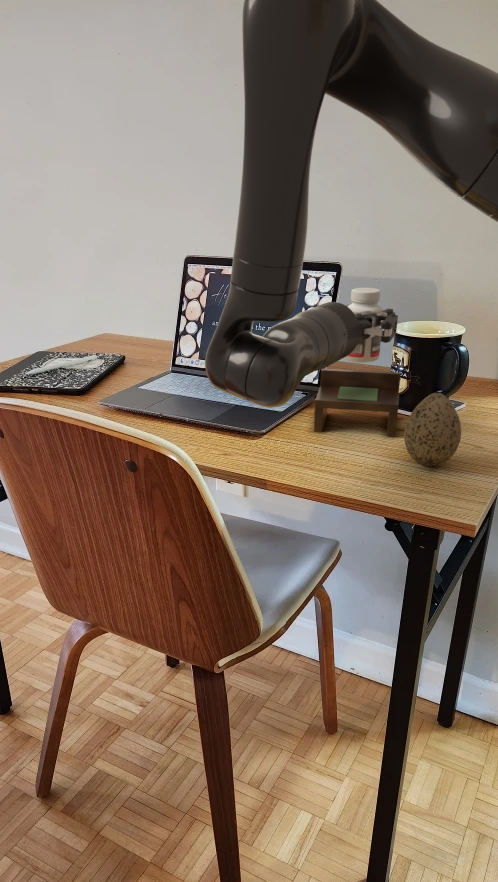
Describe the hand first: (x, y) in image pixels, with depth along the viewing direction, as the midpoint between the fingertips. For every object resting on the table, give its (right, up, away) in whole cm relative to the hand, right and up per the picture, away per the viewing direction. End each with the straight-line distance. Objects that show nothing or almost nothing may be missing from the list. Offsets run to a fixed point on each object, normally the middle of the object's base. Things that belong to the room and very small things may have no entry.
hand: (370, 313), depth 100 cm
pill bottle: (-1, -6, +1) cm, 7 cm away
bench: (-1, -15, +6) cm, 17 cm away
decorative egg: (+6, -22, -7) cm, 24 cm away
